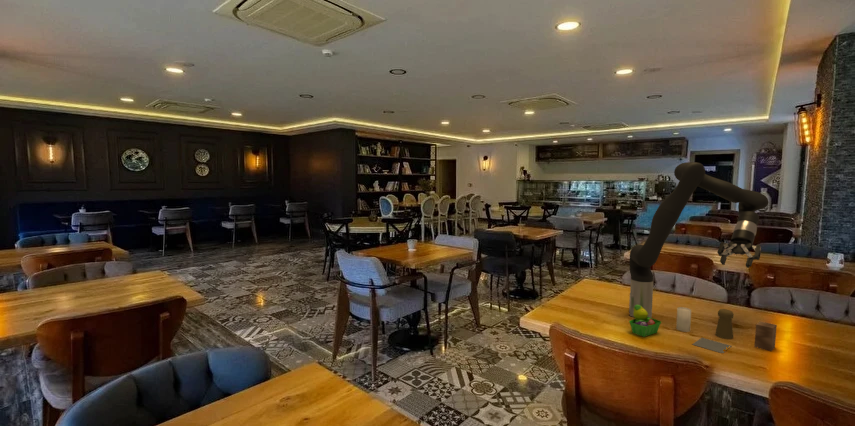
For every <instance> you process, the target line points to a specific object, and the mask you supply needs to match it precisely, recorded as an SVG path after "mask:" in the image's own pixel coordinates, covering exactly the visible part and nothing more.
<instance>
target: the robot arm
mask: <svg viewBox="0 0 855 426" xmlns="http://www.w3.org/2000/svg"><path fill="white" fill-rule="evenodd" d="M673 173H674V177H675V179H676V180H678V183H677V186H676V187H675V188H674V189H673V190H672V192H671V193H670V194H669V195H668V196H666V197H665V199H664V200H663V201H661V203H660V204H659V205H658V207H657V209H656V210H655V212H654V214H653V216H652V220H651V222H650V223H651V224H650V230H649V233H648V237H647V238H646V240H645V242H644V243H643V244H637V245H634V246H633V247H632V248H631V250H630V253H629V273H630V289H629V290H630V293H629V304H628V307H629V308H628V313H629V316H630V317H633V318H635V317H634V315H633V312H634V306H635V305H640V306H642V307H643V308H644V309H645V310H646V311H647V313H648V316H647V317H650V318H653V316H652V315H653V299H654V298H653V296H654V295H653V294H654V274H653V272H652V268H651V267H652V266H653V265H655V263H656V262H657V261H658V259H659V257H660V254H661V251H662V249H663V248H664V245H665V242H666V241H667V239H668V237H669V236H670V234H671V232H672V230H673V228H674V226H676V224H677V222H678V220H679V218H680V216H681V215H682V212H683V211H684V209H685V207H686V205H687V204H688V202H689V200H690V199H691V196H692V195H693V194H694V192H695V191H696V189H697V188H701V189H703V190H705V191H708V192H710V193H712V194H714V195H716V196H719V197H720V198H722V199H723V200H727V202H728V201H729V202H731V203H734V204H737V209H738V218H737V222H736V225H735V227H733V232H732V235H731V238H730V241H729V243H725V242H724V241H721V242H720V243H719V246H718V249H717V250H716V251H717V254H718V256H719V257H720V259H719V262H720V264H721V265H723V266H724V265H726V262H727V258H728V257H729V256H732V255H741V256H743V255H744V256H745V255H746V257H747V259H746V262H745V267H746V268H747V269H750V267H752V265H753V262H754V261H755V260H757V261H759V260H760V258H761V255H762V254H761V253H762V246H761V245H760V244H756V245H754V241H755V237H756V235H757V230H758V225H759V222H760V216H759V213H757V211H759V210H760V211H761V210H763V209H765V208H767V207H768V205H769V199H768V197H767V196H766V195H765V194H763V193H761V192H759V191H755V190H750V189H745V188H742V187H740V186H738V185H735V184H733V183H731V182H729V181H726V180H722V179H720V178H716V177H713V176H711V175H709V174H706V168H705V166H704V165H703V164H702V163H701V162H696V161H693V162H692V161H691V162H689V161H688V162H686V161H685V162H681V163H680V164H677V166H676V167H675V169H674V171H673ZM752 250H754V255H752V253H751V251H752Z"/></svg>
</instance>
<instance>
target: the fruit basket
mask: <svg viewBox="0 0 855 426" xmlns="http://www.w3.org/2000/svg"><path fill="white" fill-rule="evenodd" d="M633 315H634V317H633V319H630V320H628V322H629V325H630V328H631V331H632V334H635V335H637V336H640V337H643V338H645V337H648V336H652V335H653V334H657V333H658V331H659V328H660V326H661V324H662V321H661V320H658V319H656V318H653V317H651V318H650V317H647V316H648V313H647V311H646V310H645V309H644V308H643V307H642V306H640V305H635V306H634V312H633Z"/></svg>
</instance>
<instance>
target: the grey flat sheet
mask: <svg viewBox="0 0 855 426" xmlns="http://www.w3.org/2000/svg"><path fill="white" fill-rule="evenodd" d="M691 345H693V346H695V347H699V348H702V349H706V350H709V351H712V352H716V353H720V354H722V353H723V354H724V353H725V352H724V351H723V350H724V349H725V350H726V347H727V348H728V347H729V346H730V348H732V345H731V344H727V343H723V342H719V341H717V340H716V341H715V340H713V339H709V338H704V337H701V338H699V339H697V340H696V341H694V342H693V343H692V344H691Z"/></svg>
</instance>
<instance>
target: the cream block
mask: <svg viewBox="0 0 855 426" xmlns="http://www.w3.org/2000/svg"><path fill="white" fill-rule="evenodd" d="M691 320H692V309H690V308H689V307H686V306H685V307H683V306H679V307H677V308H676V324H675V325H676V328H675V329H676V330H677V331H679V332H685V333H686V332H687V333H688V332H689V333H690V332H691V323H692V322H691Z"/></svg>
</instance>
